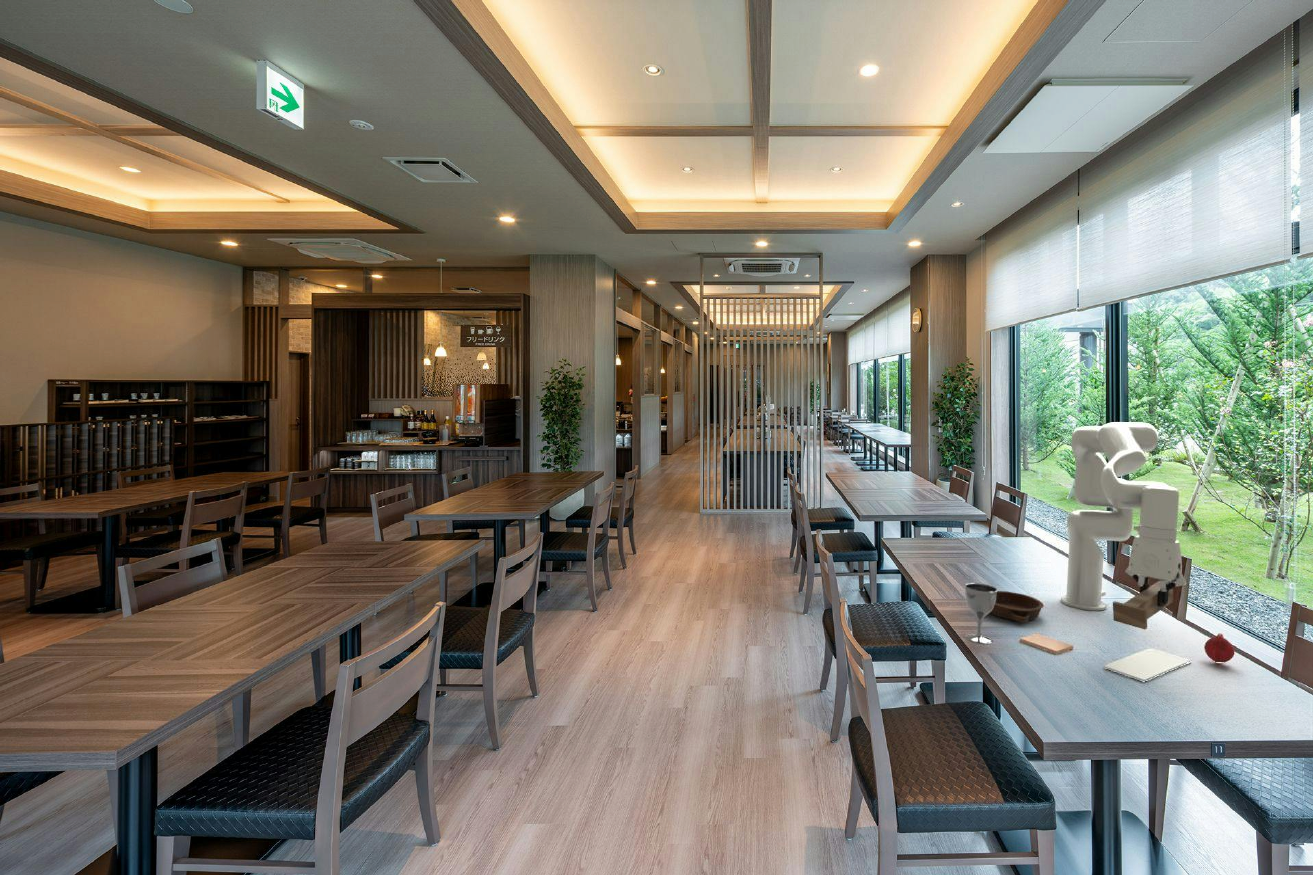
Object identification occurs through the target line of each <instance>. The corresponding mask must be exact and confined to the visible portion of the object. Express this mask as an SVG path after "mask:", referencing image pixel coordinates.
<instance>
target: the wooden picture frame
mask: <svg viewBox="0 0 1313 875" xmlns="http://www.w3.org/2000/svg"><path fill="white" fill-rule="evenodd" d="M1019 642H1020V643H1022V644H1025V643H1026V644H1025V645H1027V646H1028V645H1029V646H1030V645H1033V646H1035V647H1034V648H1036V647H1039V648H1041V649H1040V650H1042V649H1045V650H1047V651H1049V652H1048V653H1050V652H1052V653H1051V654H1053V653H1054V655H1056V654H1057V655H1060V654H1063V653H1066V652H1069V651H1071V650H1070V649H1072V650H1074V645H1072V644H1069V643H1067V642H1063V641H1060V640H1058V639H1054V638H1052V637H1050V636H1046V635H1043V634H1040V633H1037V632H1035V633H1033V634H1030V635H1027V636H1022V637H1020V638H1019ZM1033 646H1032V647H1033ZM1039 648H1038V649H1039ZM1068 650H1069V651H1068ZM1047 651H1046V652H1047ZM1065 651H1066V652H1065ZM1062 652H1063V653H1062ZM1059 653H1060V654H1059Z"/></svg>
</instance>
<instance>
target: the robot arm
mask: <svg viewBox="0 0 1313 875" xmlns="http://www.w3.org/2000/svg"><path fill="white" fill-rule="evenodd" d="M1159 439H1160V438H1159V433H1158V431H1157V429H1156V428H1155V427H1154V425H1152V424H1150V423H1147V422H1130V421H1129V422H1125V421H1124V422H1122V421H1119V422H1118V421H1116V422H1108V423H1106V424H1103V425H1092V426H1091V425H1090V426H1089V425H1087V426H1082V427H1077V428H1076V429H1074V431H1073V432H1072V434H1071V440H1070V446H1071V450H1072V453H1073V456H1074V461H1075V462H1074V463H1075V471H1074V491H1073V492H1074V493H1073V494H1074V500H1075V503H1076V504H1078V505H1080V506H1083V507H1084V506H1085V507H1095V508H1097V507H1099V508H1112V511H1110V510H1109V511H1108V510H1098V509H1097V510H1094V509H1079V510H1074V511H1071V512H1070V513H1069V514H1068V516H1067V519H1066V524H1067V534H1068V559H1067V560H1068V561H1067V563H1068V564H1067V577H1066V578H1067V580H1066V581H1067V582H1066V595H1062V596H1060V602H1061V603H1062V604H1064V605H1066V606H1068V607H1072V608H1075V609H1080V610H1086V611H1094V612H1095V611H1105V610H1107V603H1106V602H1105V601H1102V597H1104V596H1106V595H1107V593H1106V591H1105V590H1103V573H1104V559H1105V558H1104V553H1103V550H1102V549H1101V547H1100V546H1099V545H1098V544H1097V543H1096V541H1111V542H1112V541H1113V542H1124V541H1127V540H1128V539H1130V537H1131V535H1132V531H1133V530H1134V531H1136V532H1137V533H1138V535H1134V538H1133V541H1132V546H1131V549H1130V554H1129V561H1128V562H1129V563H1128V567H1127V568H1126V569H1125V573H1126V574H1127V575H1129V576H1130V577H1131V578H1133V579H1134V580H1135V582H1136V583H1137V586H1138V587H1139V593H1141V592H1142V591H1144V590H1146V589H1148V588H1149V587H1150V586H1151V585H1149V583H1150V578H1151V579H1156V580H1158V581H1160V591H1158V600H1157V605H1158V606H1160V607H1161V606H1165V605H1166V604H1167V603H1168V595H1169V590H1171V589H1173V590H1174V589H1175V588H1176V587H1181V586H1182V587H1183V586H1185V585H1187V581H1186V578H1185V577H1184V575H1183V572H1182V571H1183V569H1182V568H1183V564H1182V562H1183V559H1182V557H1183V556H1182V550H1181V545H1180V542H1179V540H1177V532H1178V517H1179V516H1178V515H1179V504H1180V503H1179V501H1180V493H1179V490H1178V489H1177V488H1175V487H1173V486H1169V485H1168V484H1166V483H1165V482H1160V481H1159V482H1158V481H1144V480H1126V479H1124V478H1120V477H1124V476H1126V475H1129V474H1131V473H1132V474H1133V473H1135V472H1137V471H1138V470H1140V469H1141V468H1143V467H1144V465H1145V464H1146V460H1147V458H1146V454H1145V453H1148V452H1151V451H1154V450H1155V449H1156V447H1157V446H1158V443H1159ZM1102 454H1104V455H1105V457H1106V459H1107V461H1108V462H1107V461H1106V459H1105V457H1103V455H1102ZM1134 509H1135V510H1140V511H1139V512H1140V513H1139V514H1140V516H1139V524H1138V525H1134V526H1133V520H1134ZM1174 580H1176V581H1174Z"/></svg>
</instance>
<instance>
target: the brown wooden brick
mask: <svg viewBox="0 0 1313 875" xmlns="http://www.w3.org/2000/svg"><path fill="white" fill-rule="evenodd" d="M1149 586H1150V587H1149V588H1148V589H1146V590H1144V591H1142V592H1141V593H1140V592H1139V593H1138V594H1136V595H1135V596H1133V597H1132V598H1130V599H1128V600H1126V601H1125V602H1120V601H1113V602H1112V611H1113V612H1112V615H1113V616H1112V617H1113V621H1114V622H1118V623H1121V624H1123V625H1127V626H1131V627H1135V628H1138V629H1141V630H1147V629H1148V620H1149V619H1150V618H1151V617H1153V616H1154V615H1156V614H1158V613H1159V612H1160V611H1161V610H1163V609H1165V608H1166V607H1168V606H1169V605H1170V604H1172V603H1174V588H1173V589H1171V590H1169V595H1168V603H1167V604H1166V605H1165V606H1161V607H1160V606H1158V605H1157V600H1158V591H1160V580H1158V581H1156V582H1155V583H1153V584H1152V585H1149Z"/></svg>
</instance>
